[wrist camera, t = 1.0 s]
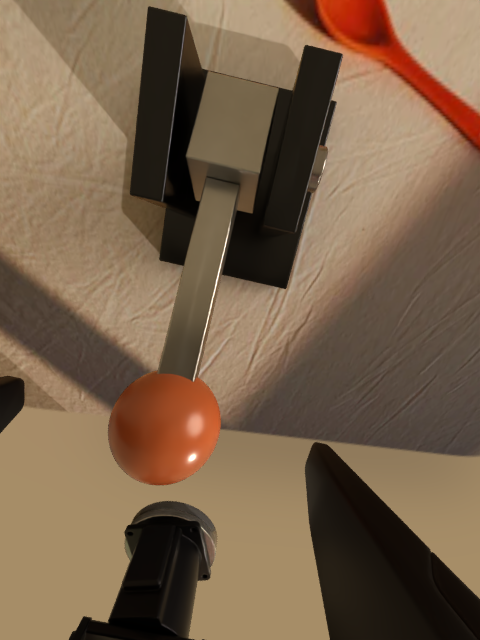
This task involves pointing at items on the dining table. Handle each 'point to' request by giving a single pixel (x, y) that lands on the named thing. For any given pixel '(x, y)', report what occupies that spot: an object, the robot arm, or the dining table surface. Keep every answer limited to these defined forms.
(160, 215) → the dining table surface
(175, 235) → the bracket
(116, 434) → the lever
